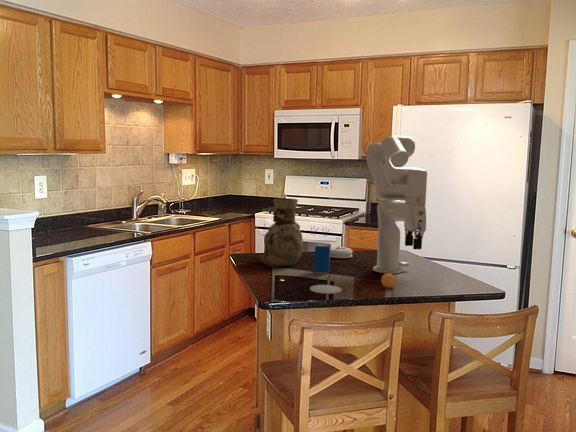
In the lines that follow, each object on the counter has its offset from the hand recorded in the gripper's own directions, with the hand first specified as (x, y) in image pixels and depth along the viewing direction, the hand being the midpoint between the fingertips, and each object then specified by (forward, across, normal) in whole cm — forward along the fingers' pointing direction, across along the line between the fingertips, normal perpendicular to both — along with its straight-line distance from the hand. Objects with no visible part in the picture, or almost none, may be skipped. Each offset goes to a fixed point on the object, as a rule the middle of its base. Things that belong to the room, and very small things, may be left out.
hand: (413, 247), depth 198 cm
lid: (+16, +59, +10) cm, 62 cm away
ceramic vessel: (+16, +45, +42) cm, 64 cm away
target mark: (+16, 0, +34) cm, 38 cm away
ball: (+13, 0, +10) cm, 16 cm away
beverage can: (+16, +27, +28) cm, 42 cm away
